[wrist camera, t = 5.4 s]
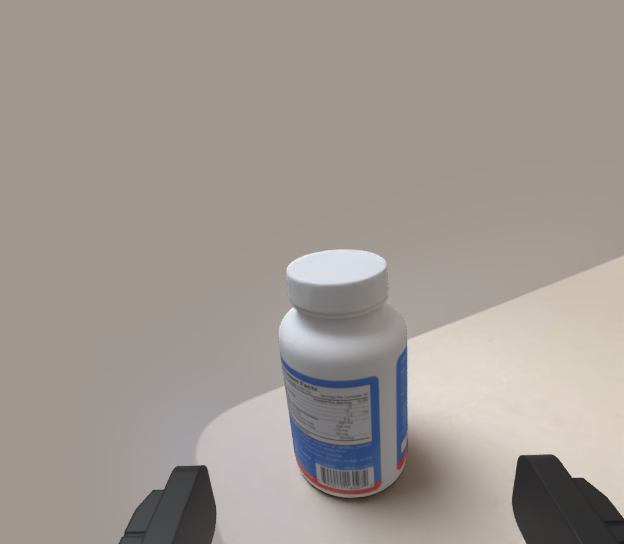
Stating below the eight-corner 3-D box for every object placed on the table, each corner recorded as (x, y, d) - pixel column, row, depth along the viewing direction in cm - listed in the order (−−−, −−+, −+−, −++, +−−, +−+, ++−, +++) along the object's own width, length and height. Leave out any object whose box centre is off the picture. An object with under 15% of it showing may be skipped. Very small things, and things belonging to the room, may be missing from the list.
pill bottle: (353, 399, 22) (345, 236, 18) (431, 456, 18) (439, 260, 14) (272, 448, 19) (245, 265, 16) (343, 530, 15) (327, 305, 11)
